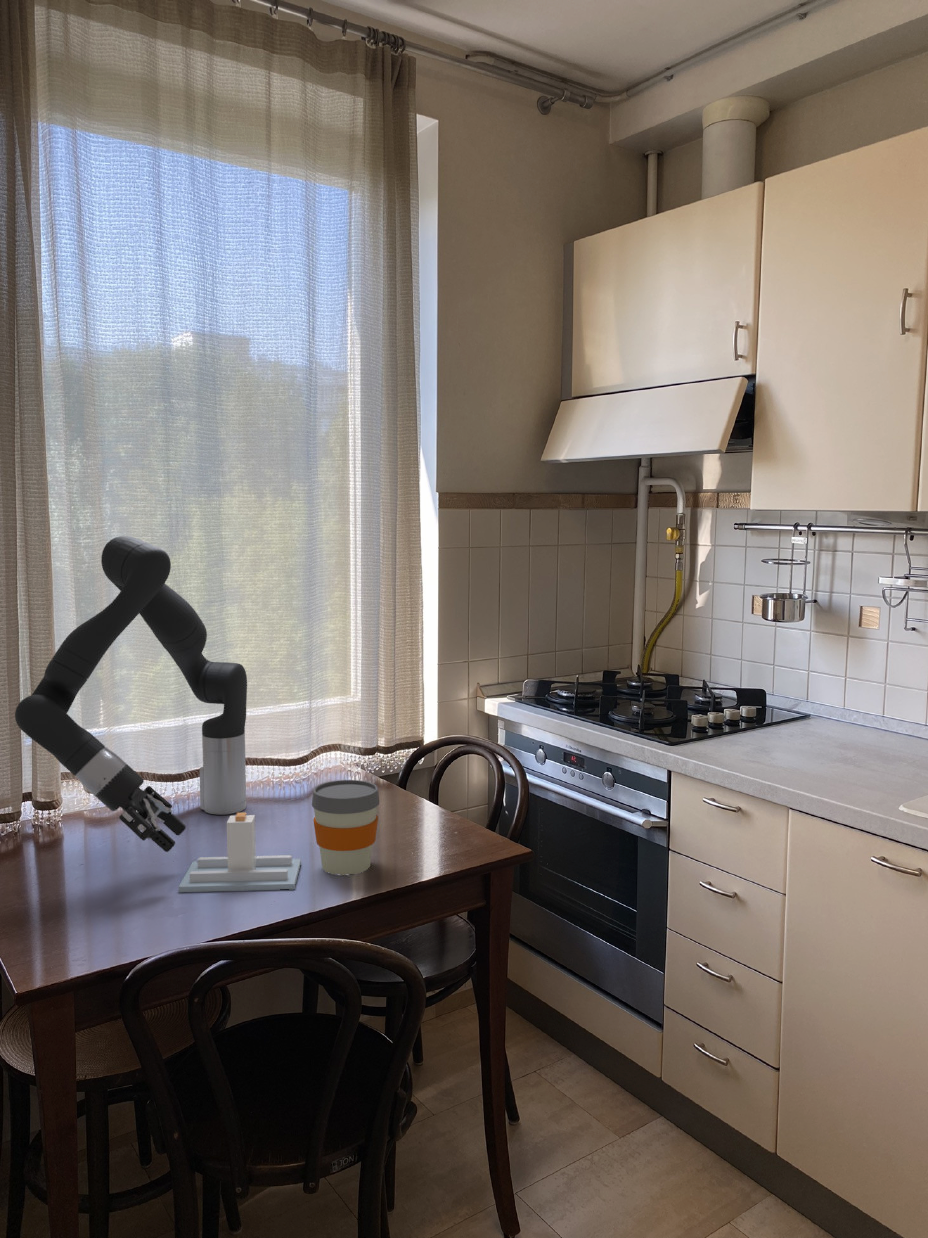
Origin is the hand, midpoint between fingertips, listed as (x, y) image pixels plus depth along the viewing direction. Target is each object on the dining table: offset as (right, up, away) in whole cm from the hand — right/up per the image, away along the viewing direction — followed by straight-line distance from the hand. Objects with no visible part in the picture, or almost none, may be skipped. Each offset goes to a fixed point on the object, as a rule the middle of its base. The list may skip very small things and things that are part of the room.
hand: (177, 839), depth 166 cm
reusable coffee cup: (+30, -7, +7) cm, 31 cm away
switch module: (+11, -6, +2) cm, 13 cm away
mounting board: (+11, -7, +2) cm, 14 cm away
